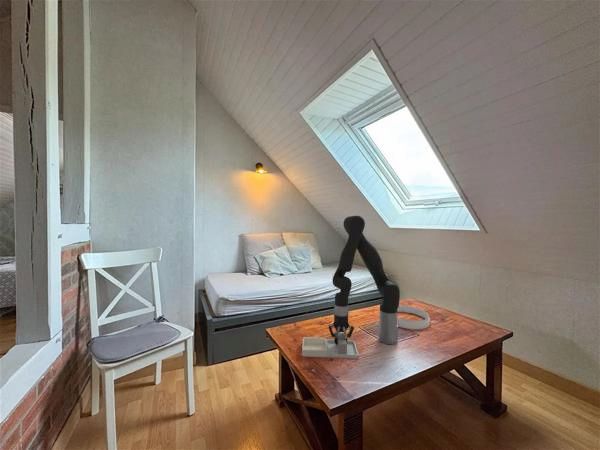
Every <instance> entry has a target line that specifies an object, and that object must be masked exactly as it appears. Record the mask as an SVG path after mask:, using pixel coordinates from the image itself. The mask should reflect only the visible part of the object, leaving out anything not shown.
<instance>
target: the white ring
mask: <svg viewBox="0 0 600 450" xmlns="http://www.w3.org/2000/svg"><path fill="white" fill-rule="evenodd" d="M397 313H410V314H413V315H416V316H419V317H421V318H423V319H422V320H410V319H405V318H401V317H398V316H397V326H398V328H399V327H400V328H403V329H408V330H425V329H427V328H429V327H430V324H431V318H430V316H429V314H428V312H427V311H425V310H423V309H421V308H419V307H415V306H411V305H404V304H399V307H398V309H397Z"/></svg>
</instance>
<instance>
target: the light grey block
mask: <svg viewBox="0 0 600 450" xmlns="http://www.w3.org/2000/svg"><path fill="white" fill-rule="evenodd" d="M338 354H347V342H346V340H338Z"/></svg>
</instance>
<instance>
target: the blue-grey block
mask: <svg viewBox="0 0 600 450" xmlns="http://www.w3.org/2000/svg"><path fill="white" fill-rule="evenodd" d="M338 340H345V335H344V332H339V333H338V336H337V348H338Z"/></svg>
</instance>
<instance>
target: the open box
mask: <svg viewBox="0 0 600 450" xmlns="http://www.w3.org/2000/svg"><path fill="white" fill-rule="evenodd" d="M326 339H327V337H317V336H315V337H314V336H313V337H312V336H303V337H302V348H301V351H302V352H301V357H309V358H311V357H313V358H314V357H315V358H328V357H327V342H326Z"/></svg>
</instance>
